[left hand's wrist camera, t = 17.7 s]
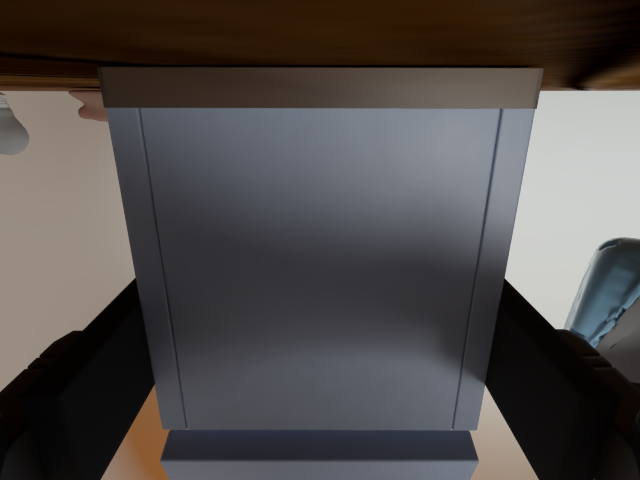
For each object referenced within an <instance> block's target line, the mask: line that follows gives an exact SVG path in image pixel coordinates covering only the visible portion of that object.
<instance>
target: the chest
mask: <svg viewBox="0 0 640 480" xmlns="http://www.w3.org/2000/svg"><path fill="white" fill-rule="evenodd" d="M543 71H544V68H405V67H97V72H98V78H99V83H100V89H101V94H102V100H103V106H104V108H106V111H107V117H108V122H109V128H110V134H111V139H112V145H113V151H114V157H115V162H116V168H117V173H118V179H119V185H120V191H121V196H122V202H123V207H124V213H125V219H126V225H127V230H128V236H129V242H130V247H131V253H132V259H133V264H134V270H135V276H136V282H137V287H138V293H139V299H140V304H141V309H142V315H143V321H144V326H145V332H146V337H147V343H148V349H149V354H150V360H151V365H152V371H153V377H154V382H155V389H156V395H157V400H158V406H159V412H160V418H161V423H162V428H163V429H172V430H184V429H186V428H187V429H189V430H451V429H453V430H477V426H478V421H479V415H480V410H481V404H482V399H483V393H484V388H485V381H486V375H487V369H488V364H489V358H490V353H491V347H492V341H493V336H494V330H495V325H496V319H497V314H498V308H499V302H500V299H501V294H502V288H503V283H504V277H505V272H506V266H507V261H508V255H509V250H510V244H511V239H512V233H513V228H514V222H515V216H516V211H517V206H518V200H519V195H520V189H521V184H522V178H523V173H524V167H525V162H526V156H527V151H528V145H529V140H530V134H531V128H532V123H533V118H534V112H535V109H536V108H537V104H538V98H539V93H540V88H541V82H542V77H543Z"/></svg>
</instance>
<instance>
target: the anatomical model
mask: <svg viewBox="0 0 640 480" xmlns="http://www.w3.org/2000/svg"><path fill="white" fill-rule="evenodd" d="M69 94H70V95H72V96H73V97H75V98H77V99H78V100H80V101H82V102H83V103H84V106H83V107H81V108H80V109H79V110H78V113H79V116H80V117H82V118H85V119H93V120H98V121H104V122H108V117H107V111H106V108H104V106H103V100H102V94H101V90H73V91H69Z"/></svg>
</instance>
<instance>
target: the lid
mask: <svg viewBox="0 0 640 480" xmlns="http://www.w3.org/2000/svg"><path fill="white" fill-rule="evenodd" d="M160 462H161V464H162V466H163V468H164V470H165V472H166V474H167V476H168V478H169V480H470V478H471V476H472V474H473V472H474V470H475V468H476V466H477V464H478V462H479V460H478V457H477V453H476V450H475V447H474V444H473V441H472V437H471V434H470V432H469V431H468V430H170V431H169V433H168V437H167V440H166V443H165V446H164V449H163V453H162V456H161V459H160Z"/></svg>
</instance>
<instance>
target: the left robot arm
mask: <svg viewBox="0 0 640 480" xmlns="http://www.w3.org/2000/svg"><path fill="white" fill-rule="evenodd" d="M154 384H155V382H154V377H153V371H152V365H151V360H150V354H149V349H148V343H147V337H146V332H145V326H144V321H143V315H142V309H141V304H140V299H139V293H138V287H137V282H136V278H135V279H134V280H133V281H132V282H131V283H130V284H129V285H128V286H127V287H126V288H125V289H124V290H123V291H122V292H121V293H120V294H119V295H118V296H117V297H116V298H115V299H114V300H113V301H112V302H111V303H110V304H109V305H108V306H107V307H106V308H105V309H104V310H103V311H102V312H101V313H100V314H99V315H98V316H97V317H96V318H95V319H94V320H93V321H92V322H91V323H90V324H89V325H88V326H87V327H86V328H85V329H84V330H83V331H72V332H70V333H69V334H67V335H65V336H64V337H62V338H60V339H58V340H56V341H55V342H53V343H52V344H51V345H50V346H49V347H48V348H47V349H46V350H45V351H44V352H43V353H42V354H40V357H39V358H36V359H35V360H34V361H33V362H32V363H31V364H30V365H29V366H28V369H24V370H23V371H22V372H21V373H20V374H19V375H18V376H17V377H16V378H15V379H14V380H13V381H12V382H11V383H9V384H8V385H7V386H6V387H5V388H4V389H3V390H2V391H1V392H0V480H101V478H102V476H103V474H104V473H105V471H106V469H107V467H108V466H109V464H110V462H111V460H112V459H113V457H114V455H115V453H116V451H117V450H118V448H119V446H120V444H121V443H122V441H123V439H124V437H125V436H126V434H127V432H128V430H129V428H130V427H131V425H132V423H133V421H134V420H135V418H136V416H137V414H138V413H139V411H140V409H141V407H142V406H143V404H144V402H145V400H146V399H147V397H148V395H149V393H150V391H151V390H152V388H153V386H154ZM485 385H486V387H487V389H488V391H489V392H490V394H491V396H492V397H493V399H494V401H495V403H496V405H497V406H498V408H499V410H500V412H501V413H502V415H503V417H504V419H505V421H506V422H507V424H508V426H509V427H510V429H511V431H512V433H513V435H514V436H515V438H516V440H517V442H518V443H519V445H520V447H521V449H522V451H523V452H524V454H525V456H526V458H527V459H528V461H529V463H530V465H531V466H532V468H533V470H534V472H535V473H536V475H537V477H538V479H539V480H640V239H635V238H626V237H619V238H613V239H610V240H608V241H606V242H604V243H602V244H601V245H600V246H599V247H598V248H597V249H596V250H595V252H594V253H593V255H592V257H591V259H590V262H589V264H588V266H587V268H586V271H585V273H584V275H583V278H582V280H581V282H580V285H579V288H578V290H577V293H576V295H575V298H574V301H573V303H572V306H571V308H570V311H569V314H568V317H567V319H566V322H565V325H564V328H563V329H555V328H554V327H553V326H552V325H551V324H550V323H549V322H548V321H547V320H546V319H545V318H544V317H543V316H542V315H541V314H540V313H539V312H538V311H537V310H536V309H535V308H534V307H533V306H532V305H531V304H530V303H529V302H528V301H527V300H526V299H525V298H524V297H523V296H522V295H521V294H520V293H519V292H518V291H517V290H516V289H515V288H514V287H513V286H512V285H511V284H510V283H509V282H508V281H507V280H506V279H505V278H504V283H503V288H502V294H501V299H500V302H499V308H498V314H497V319H496V325H495V330H494V336H493V341H492V347H491V353H490V358H489V364H488V369H487V375H486V381H485Z"/></svg>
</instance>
